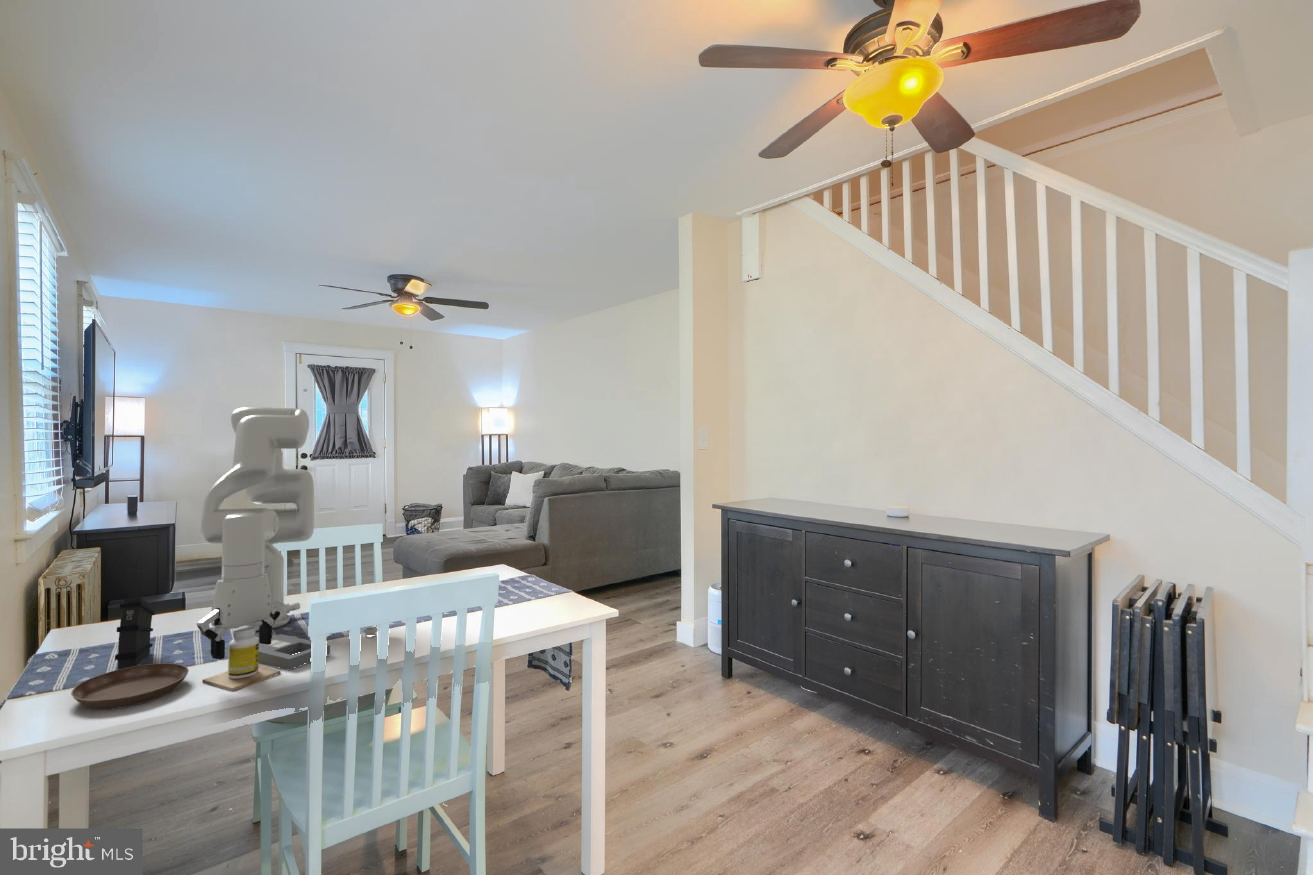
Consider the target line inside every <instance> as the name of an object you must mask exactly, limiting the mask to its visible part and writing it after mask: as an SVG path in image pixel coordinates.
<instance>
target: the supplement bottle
mask: <svg viewBox="0 0 1313 875" xmlns="http://www.w3.org/2000/svg"><path fill="white" fill-rule="evenodd" d="M255 635H256V631H255V627H253V626H246V627H240V628H237V629H235V628H233V631H232V638H233V639H232V640H230V641H229V643H228V653H227V654H228V655H227V656H228V658H227V659H228V660H227V661H228V662H227V671H228V677H229V678H233V679H240V678H246V677H249V676H252V675H255V674H256V673H257V672H258V665H259V663H258V662H259V637H257V636H255Z"/></svg>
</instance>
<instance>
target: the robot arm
mask: <svg viewBox="0 0 1313 875" xmlns="http://www.w3.org/2000/svg"><path fill="white" fill-rule="evenodd" d="M230 423H231V426H232V429H233V432H234V434H235V440H234V449H233V450H234V451H233V452H234V453H233V458H232V468H231V469H230V470H229V471H228V472H226V473H225V474H224V475H223V476H220V478H219V479H218V480H216V481H215V483H214V484H213V485H212V486H211V487H210V489H209V490H208V491H207V493H206V495H205V498H204V502H203V507H202V513H201V521H200V533H201V538H202V539H203V540H204V541H205V542H207V543H209V544H212V545H216V544H218V545H219V544H220V545H221V579H218V580H217V581H216V583H215V587H214V590H213V597H212V604H211V612H210V613H209V614H207V615H206V616H205V617H203V618H202V619H200V620H199V621H197V623H196V627H197V628H198V630H199V632H201V635H202V636H204V637H205V638H207V639H208V640H209V641H210V656H211V658H212V659H215V660H219V661H221V660H224V659H225V657H226V651H225V649H226V640H225V639H223V638H224V636H225V635H226V633H227V632H228V630H231V629H237V628H240V627H246V626H253V627H255V632H257V631H259V632H258V635H259V636H258V639H259V643H261V644H266V645H270V644H271V639H272V636H273V629H275V628H279V627H282V626H284V625H287V624H288V623H289V622H290V620H291V616H290V615H288V614H289V613H290V612H294V611H297V610H300V608H301V604H300V602H296V603H295V602H294V603H291V604H290V603H284V601H285V600H284V599H285V598H284V594H285V593H284V591H285V590H284V586H285V585H284V584H285V583H284V582H285V580H284V579H285V560H284V556H283V554H282V552H280V551H279V549H277V547H275V546H274V545H276V544H281V543H282V544H283V543H284V544H285V543H298V542H305V541H308V540H310V538H312V536H313V534H314V528H315V488H314V486H315V485H314V479H313V475H312V474H311V473H310V471H308V470H306V469H301V468H296V469H295V468H284V467H283V466H284V465H283V464H284V463H283V460H284V458H283V457H284V456H283V455H284V453H283V451H282V449H286V450H287V449H291V450H292V449H295V450H296V449H301V448H302V447H303V446H305V443H306V441H307V437H308V433H309V430H310V419H309V414H307V412H306V411H305V410H304V409H302V408H298V407H297V408H295V407H293V408H292V407H291V408H290V407H269V406H267V407H265V406H248V407H246V406H245V407H239V408H237V409H235V410H233V411H232V413H231V415H230ZM243 490H245V495H246V496H245V497H246V499H247V501H248V502H250V503H252V504H256V505H281V504H291V505H294V506H295V507H285V508H284V507H283V508H281V507H279V508H278V507H275V508H274V507H273V508H266V507H258V508H257V507H254V508H251V507H250V508H225V509H224V508H222V509H220V508H221V505H222V504H223V502H224V501H226V500H227V499H228V498H229V497H231V496H232V495H235V494H236V493H239V492H241V491H243ZM210 624H211V626H213V629H211V627H210Z"/></svg>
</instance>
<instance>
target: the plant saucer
mask: <svg viewBox="0 0 1313 875" xmlns="http://www.w3.org/2000/svg"><path fill="white" fill-rule="evenodd" d="M188 674H189V668H188V667H187V666H185V665H183V664H180V663H171V662H170V663H168V662H166V663H165V662H164V663H163V662H162V663H149V664H148V663H147V664H141V665H140V664H139V665H138V666H133V667H128V668H123V669H119V670H118V669H117V670H112V671H111V670H110V671H109V672H105V673H102V674H99V675H96V676H93V677H91V678H89V679H86V680H85V681H82V682H81V683H79V684H78V685H76V686H75V687H73V688H72V690H71V692H70V695H71V697H72V698H73V699H74V700H76V701H77V702H78V703H79V704H81V705H82V706H84V707H86V708H89V709H92V710H113V709H112V708H114V709H120V708H121V709H122V708H126V707H132V706H135V705H139V704H140V705H141V704H144V703H147V702H151V701H154V700H156V699H159V698H163V697H164V696H165V695H168V694H170V693H171V692H173V691H174V690H175V689H176V688H177V687H179V686H180V685H181V683H182V682H183V681H184V680H185V678H186V676H188Z"/></svg>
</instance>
